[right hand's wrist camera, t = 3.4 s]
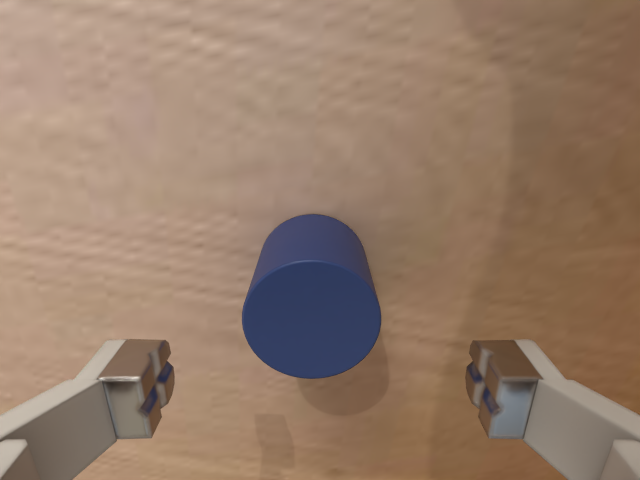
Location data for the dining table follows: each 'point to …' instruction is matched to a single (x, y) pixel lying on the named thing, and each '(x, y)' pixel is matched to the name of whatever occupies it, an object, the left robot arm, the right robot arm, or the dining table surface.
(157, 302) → the dining table surface
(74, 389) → the right robot arm
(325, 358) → the cylinder
